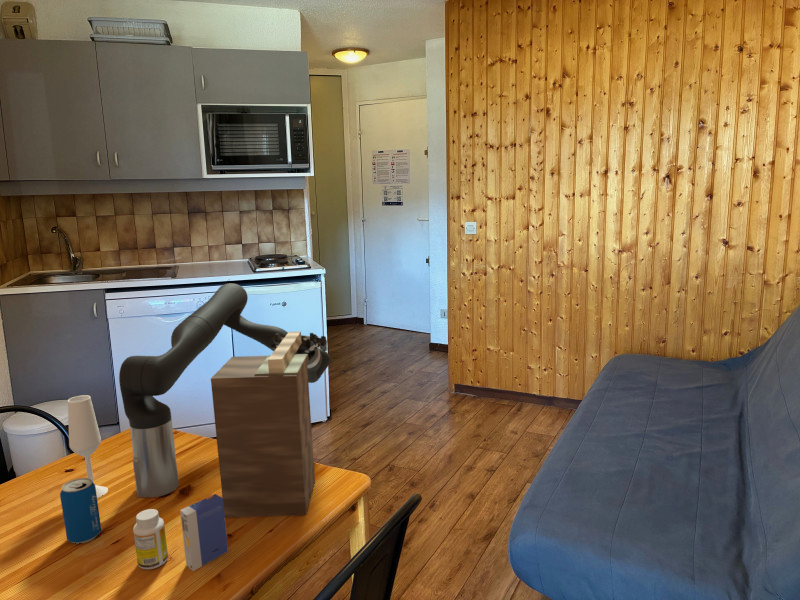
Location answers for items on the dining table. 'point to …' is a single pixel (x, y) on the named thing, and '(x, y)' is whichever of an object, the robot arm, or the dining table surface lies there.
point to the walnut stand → (264, 437)
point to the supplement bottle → (150, 539)
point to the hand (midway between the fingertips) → (294, 336)
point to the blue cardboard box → (204, 531)
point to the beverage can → (80, 510)
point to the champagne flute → (84, 433)
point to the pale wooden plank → (284, 352)
